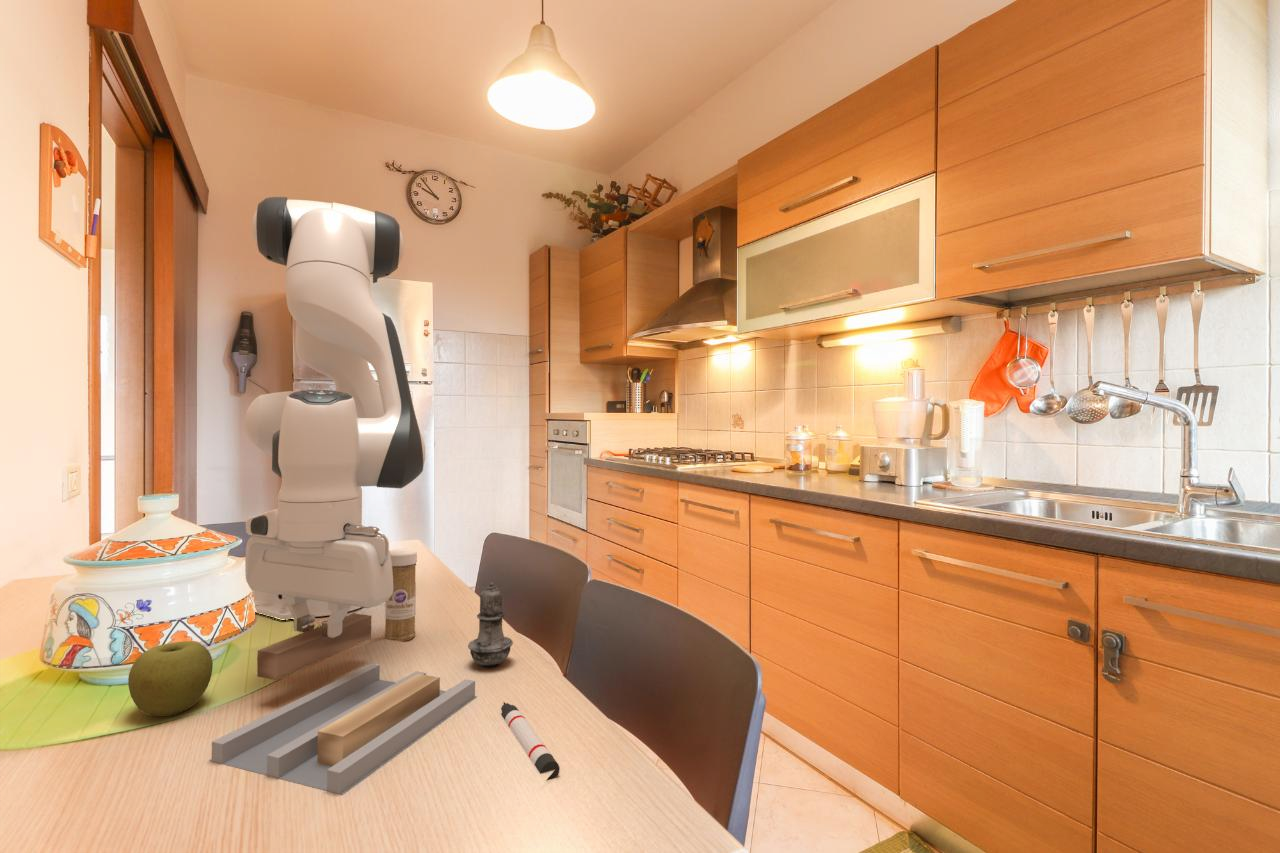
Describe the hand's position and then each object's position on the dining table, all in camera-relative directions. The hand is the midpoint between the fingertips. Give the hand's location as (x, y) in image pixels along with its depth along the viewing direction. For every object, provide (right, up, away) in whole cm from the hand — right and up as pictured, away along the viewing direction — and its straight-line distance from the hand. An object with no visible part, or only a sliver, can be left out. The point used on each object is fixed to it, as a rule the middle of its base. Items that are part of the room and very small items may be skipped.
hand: (317, 633), depth 73 cm
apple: (-14, -7, -5) cm, 16 cm away
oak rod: (+13, -6, -11) cm, 18 cm away
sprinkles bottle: (+3, -7, +19) cm, 20 cm away
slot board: (+10, -7, -10) cm, 16 cm away
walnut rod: (0, -3, 0) cm, 3 cm away
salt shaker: (+20, -8, +7) cm, 22 cm away
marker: (+28, -8, -12) cm, 31 cm away
